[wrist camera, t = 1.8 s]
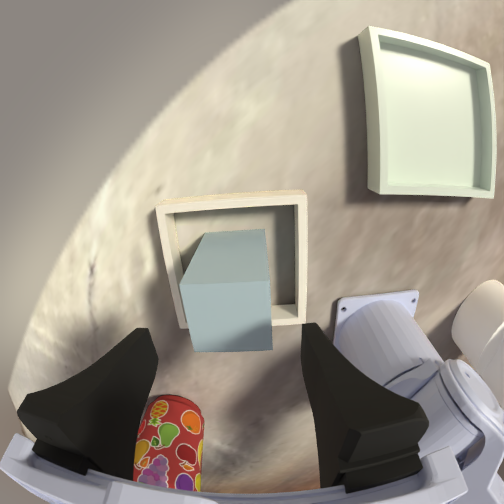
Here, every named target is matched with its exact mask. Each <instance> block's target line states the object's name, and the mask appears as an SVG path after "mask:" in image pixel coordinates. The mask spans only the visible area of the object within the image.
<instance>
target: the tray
mask: <svg viewBox="0 0 504 504" xmlns="http://www.w3.org/2000/svg"><path fill="white" fill-rule="evenodd" d="M358 40H359V47H360V54H361V62H362V71H363V81H364V92H365V105H366V121H367V152H368V182H367V188H368V189H370V190H372V191H374V192H376V193H378V194H398V195H439V196H462V197H479V198H494V189H495V176H496V115H495V102H494V92H493V84H492V77H491V71H490V65H489V63H487V62H485V61H483V60H480V59H478V58H476V57H473V56H471V55H469V54H466V53H464V52H461V51H459V50H456V49H453V48H451V47H448V46H445V45H442V44H439V43H436V42H433V41H430V40H427V39H423V38H420V37H416V36H413V35H409V34H405V33H401V32H397V31H392V30H388V29H383V28H378V27H373V26H368V27H367V28H366V29H364V30H363V31H362V32H361V33H360V34H359V35H358Z"/></svg>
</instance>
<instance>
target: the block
mask: <svg viewBox="0 0 504 504" xmlns="http://www.w3.org/2000/svg"><path fill="white" fill-rule="evenodd" d="M179 286H180V291H181V296H182V300H183V305H184V309H185V314H186V318H187V323H188V327H189V331H190V335H191V340H192V344H193V348H194V352H240V351H264V350H273V347H272V320H271V295H270V277H269V266H268V256H267V246H266V237H265V229H254V230H238V231H223V232H208V233H205V234H204V236H203V238H202V240H201V242H200V244H199V246H198V248H197V250H196V252H195V254H194V256H193V258H192V260H191V262H190V264H189V266H188V268H187V270H186V272H185V274H184V276H183V278H182V280H181V282H180V284H179Z"/></svg>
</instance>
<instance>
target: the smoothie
mask: <svg viewBox="0 0 504 504" xmlns="http://www.w3.org/2000/svg"><path fill="white" fill-rule="evenodd" d="M203 435H204V418H203V417H202V415H201V412H200V409H199V408H198V406H197V405H196V404H194V403H193V402H192V401H190V400H188V399H186V398H183V397H179V396H174V395H163V396H160V397H158V398H157V399H156V400H155V401H154V402H152V403H151V404H150V405H149V406H148V408H147V410H146V413H145V415H144V417H143V420H142V422H141V425H140V427H139V430H138V435H137V442H136V448H135V458H134V472H133V481H135V482H139V483H144V484H149V485H154V486H160V487H166V488H172V489H179V490H187V491H197V492H200V486H201V467H202V450H203Z"/></svg>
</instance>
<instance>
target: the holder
mask: <svg viewBox="0 0 504 504" xmlns="http://www.w3.org/2000/svg"><path fill="white" fill-rule="evenodd" d="M292 204H294V217H295V304H288V305H273V306H271V320H272V326H278V325H292V324H305V323H306V299H307V194H306V193H305V192H304V191H303V190H302V189H300V190H277V191H259V192H243V193H229V194H217V195H205V196H194V197H184V198H175V199H165V200H163V201H161V202H160V203H159V204H157V205H156V206H155V208H156V215H157V221H158V227H159V233H160V238H161V244H162V249H163V255H164V260H165V265H166V270H167V275H168V279H169V284H170V289H171V293H172V297H173V302H174V306H175V310H176V314H177V319H178V323H179V327H180V329H189V327H188V323H187V318H186V314H185V309H184V305H183V300H182V296H181V291H180V286H179V284H180V282H181V280H182V278H183V276H184V274H183V268H182V263H181V257H180V251H179V245H178V239H177V233H176V226H175V220H174V213H177V212H188V211H200V210H212V209H225V208H239V207H255V206H272V205H292Z"/></svg>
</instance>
